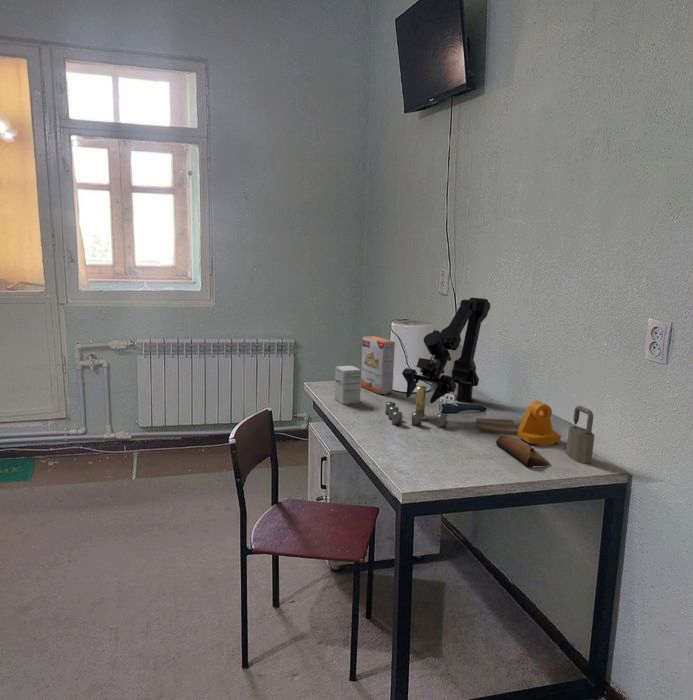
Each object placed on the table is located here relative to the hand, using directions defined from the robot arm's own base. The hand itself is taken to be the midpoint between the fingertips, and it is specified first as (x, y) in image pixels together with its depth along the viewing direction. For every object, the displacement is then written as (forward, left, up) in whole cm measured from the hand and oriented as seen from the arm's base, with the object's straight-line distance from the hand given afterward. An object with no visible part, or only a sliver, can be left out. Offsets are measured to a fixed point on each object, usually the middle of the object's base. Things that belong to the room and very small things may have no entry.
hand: (418, 400), depth 198 cm
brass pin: (-1, +1, -7) cm, 7 cm away
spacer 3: (+7, -7, -7) cm, 12 cm away
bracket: (+15, +37, -7) cm, 40 cm away
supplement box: (-17, -25, -7) cm, 31 cm away
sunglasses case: (+29, +29, -7) cm, 41 cm away
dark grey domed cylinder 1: (-4, -9, -7) cm, 12 cm away
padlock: (+28, +45, -7) cm, 53 cm away
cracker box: (-35, -15, -7) cm, 39 cm away
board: (+4, +26, -7) cm, 27 cm away
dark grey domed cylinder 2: (+2, -8, -7) cm, 11 cm away
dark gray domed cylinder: (+6, -1, -7) cm, 9 cm away
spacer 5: (+7, +8, -7) cm, 12 cm away
